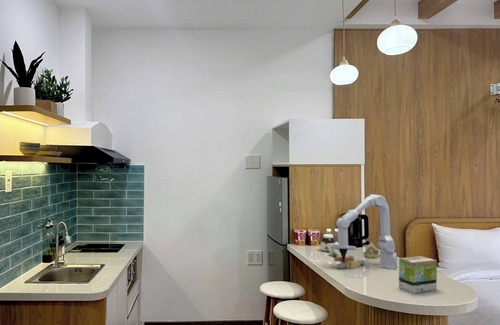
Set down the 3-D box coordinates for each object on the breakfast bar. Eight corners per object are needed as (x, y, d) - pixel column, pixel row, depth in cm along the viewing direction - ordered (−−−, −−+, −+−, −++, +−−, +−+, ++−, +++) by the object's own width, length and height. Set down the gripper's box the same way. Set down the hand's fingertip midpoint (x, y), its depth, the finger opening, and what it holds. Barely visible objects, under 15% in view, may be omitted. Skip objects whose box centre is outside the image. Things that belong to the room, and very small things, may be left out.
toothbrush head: (344, 258, 229) (328, 244, 253) (343, 268, 230) (328, 254, 254) (352, 257, 230) (335, 244, 254) (351, 268, 231) (335, 253, 255)
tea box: (414, 294, 174) (414, 262, 174) (398, 287, 183) (398, 257, 184) (437, 290, 180) (437, 259, 180) (420, 284, 189) (420, 255, 190)
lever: (352, 259, 224) (352, 255, 224) (354, 260, 221) (354, 256, 221) (333, 260, 221) (333, 256, 221) (336, 261, 218) (336, 257, 218)
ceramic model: (363, 253, 259) (363, 239, 259) (380, 255, 255) (380, 240, 255) (362, 258, 245) (362, 243, 246) (380, 259, 242) (380, 244, 242)
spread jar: (319, 251, 265) (319, 234, 265) (328, 249, 273) (328, 233, 273) (333, 254, 256) (333, 237, 257) (342, 251, 264) (342, 235, 264)
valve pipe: (359, 263, 230) (359, 257, 230) (366, 265, 225) (366, 259, 225) (335, 267, 220) (335, 261, 220) (342, 270, 215) (342, 263, 215)
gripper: (356, 237, 220) (356, 260, 220) (331, 236, 225) (332, 259, 225) (355, 240, 214) (355, 263, 213) (329, 238, 219) (330, 262, 218)
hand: (343, 261), depth 219 cm, fingers closed, pressing on lever
